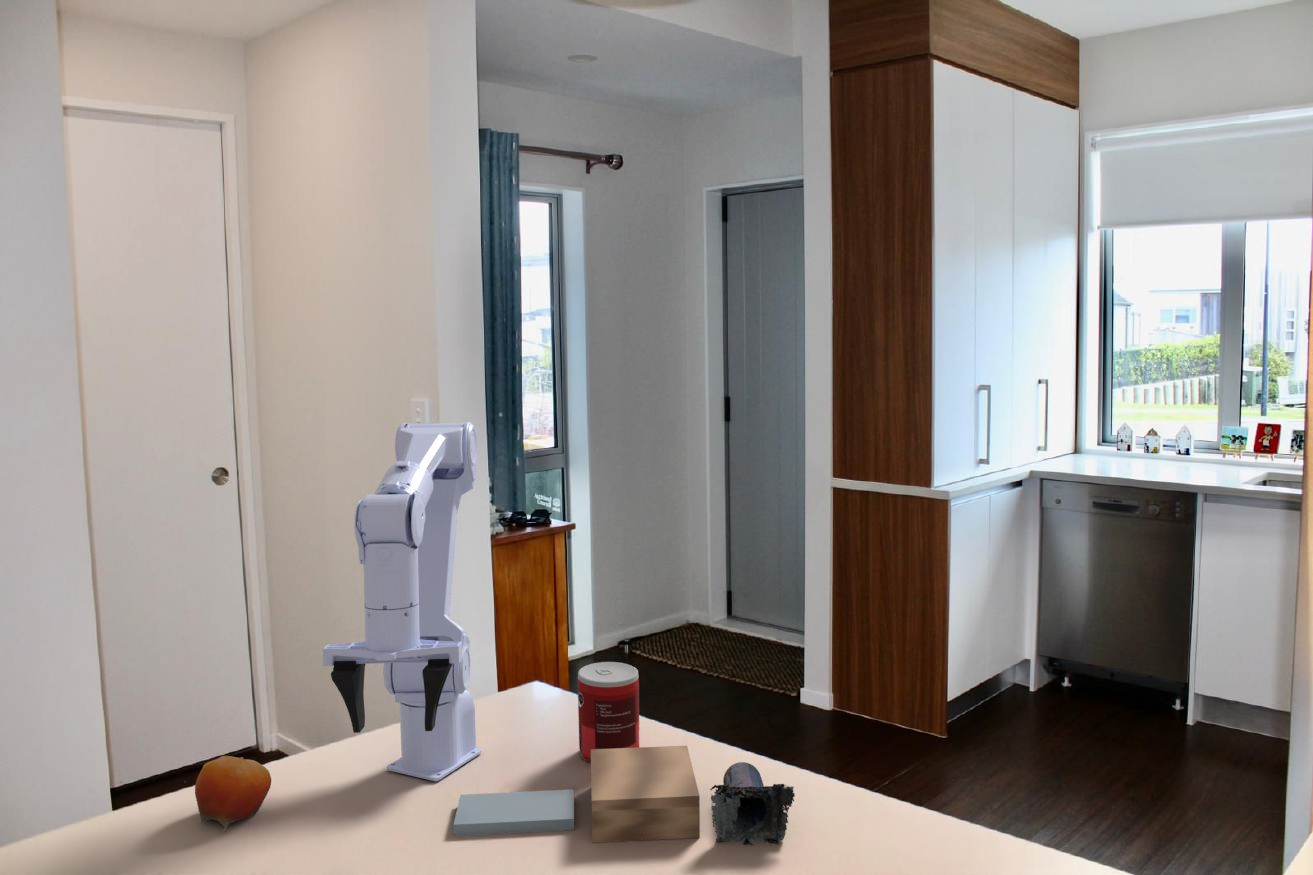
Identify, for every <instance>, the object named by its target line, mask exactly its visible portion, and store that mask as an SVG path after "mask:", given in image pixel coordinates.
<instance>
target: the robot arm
mask: <svg viewBox="0 0 1313 875" xmlns="http://www.w3.org/2000/svg"><path fill="white" fill-rule="evenodd" d="M394 452H395V453H394V454H395V458H396V459H395V460H396V462H395V463H394V464H393V465H391V466H390V467H389V468H388V469H387V470H386V473H385V474H384V476H383V477H382V479H381V481H380V483H379V484H378V486H377V488H376V489H375V492H374V493H373V494H367V495H366V496H365V498H364V499H359V500H358V502H357V503H356V508H355V514H354V534H355V536H354V537H355V539H356V544H357V547H358V548H357V549H358V560H359V563H360V564H361V565H363V593H364V594H363V596H364V597H363V599H364V600H363V601H364V631H365V632H364V633H365V634H364V637H365V638H364V640H365V641H357V642H345V643H328V644H326V646H324V647H323V648H322V665H323V667H332V671H331V672H330V677H331V681H332V682H333V684H334V685H335V686H336V688H337V690H338V692H339V693H340V696H341V697H342V699H343V702H344V704H345V706H346V709H347V712H348V716H349V719H350V722H351V726H352V732H353V733H354V734H355V733H357V734H358V733H359V734H360V733H362V730H364V727H365V726H366V725H365V723H366V713H365V712H366V711H365V700H364V699H365V698H364V697H365V695H364V693H365V692H364V689H365V672H366V664H369V665H371V664H383V684H384V687H385V689H386V691H387V692H388V693H389V694H390V695H392V696H394V700H395V701H394V702H395V703H398V704H399V719H400V721H399V725H400V746H401V748H400V749H401V757H399V758H398V759H396V760H394V761H393V762H391V763H390V764H388V765H387V766H386V770H387V771H390V772H395V773H398V774H402V775H406V776H407V775H408V776H410V777H411V776H412V777H415V778H420V779H425V780H429V781H432V782H438V781H440V780H442V779H443V778H445V777H446V776H448V775H449V774H451V773H452V772H455V771H456V770H457V769H458V768H460V767H461V766H463V765H465V764H467V763H468V762H469V761H472V760H473V759H474V758H476V757H477V756H478V755H480V754H482V752H483V749H482V748H480V747H477V738H476V737H477V735H476V733H477V732H476V730H477V728H476V706H475V705H476V704H475V701H474V699H473V697H472V694H471V692H470V691H469V690H468V688H469V683H470V676H471V654H470V647H471V645H470V644H471V643H470V642H471V641H470V637H469V636H468V633H467V631H466V629H464V628H463V627H462V626H461V625H459V624H458V623H457V622H455V621H454V620H452V619H451V618H450V613H451V601H452V588H453V586H452V585H453V575H454V561H455V560H454V558H455V548H456V547H455V546H456V532H457V522H458V521H457V520H458V519H457V518H458V512H459V508H460V504H461V499H462V496H464V495H465V494H467V493H468V492H469V491H471V490H473V489H474V485H475V484H474V482H475V480H476V477H477V476H476V474H477V460H478V436H477V430H476V427H475V426H474V425H473V423H472V422H471V421H465V422H443V423H441V422H438V423H437V422H436V423H424V422H423V423H422V422H421V423H409V422H405V421H404V422H402V423H401V424H400V425H399V426H398V428H397V429H396V433H395V439H394Z"/></svg>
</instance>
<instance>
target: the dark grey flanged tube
mask: <svg viewBox="0 0 1313 875" xmlns="http://www.w3.org/2000/svg"><path fill="white" fill-rule="evenodd" d="M722 782H723V784H717V785H716V784H714V785H713V786H712V787H711V788H710V789H709V791H713V790H714V789H715V790H714V795H713V794H712V793H711V795H710V801H711V811H712V813H711V819H712V827H713V828H715V831H714V832H715V833H716V839H715V840H716V842H717V841H719V842H723V843H725V841H727V842H731V841H735V842H743V845H752V846H754V845H753V844H754V843H752V842H755V841H756V842H758V843H759V844H760V842H759V841H764V843H769V844H770V843H771V842H774V843H776V844H777V845H780V843H781V842H782V841H784V839H785V836H786V832H787V828H788V827H787V824H789V820H788V818H789V814H788V813H789V809H790V808H791V807H793V805H792V804H793V802H795V800H794V797H796V793H795V792H794V789H795V788H794V787H795V786H792V785H787V784H784V783H777V784H776V783H773V785H764V783H763V778H762V776H761V773H760V771H759V770H758V769H757V767H755V766H754V765H753V764H752V763H749V762H745V761H740V762H735V763H734V764H731V765H730V766H729V767H728V768H727V769H726V771H725V772H724V775H723V781H722ZM741 798H744V799H745V798H749V799H745V800H743V801H744V802H748V803H747V805H746V807H743V806H741ZM713 804H714V805H713ZM751 841H752V842H751Z"/></svg>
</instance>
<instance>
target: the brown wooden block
mask: <svg viewBox="0 0 1313 875" xmlns="http://www.w3.org/2000/svg"><path fill="white" fill-rule="evenodd" d="M695 776H696V775H695V772H694V768H693V765H692V759H691V755H690V753H689V748H688V745H670V746H668V745H667V746H646V747H645V746H643V747H640V746H639V748H614V749H591V763H590V782H591V785H590V786H591V828H592V829H591V833H592V834H591V836H592V837H591V838H592V841H591V842H592V843H593V844H594V843H614V842H615V843H616V842H635V841H636V842H638V841H655V840H656V841H657V840H658V841H659V840H676V839H677V840H678V839H698V838H700V837H701V827H700V826H701V825H700V824H701V823H700V820H701V819H700V818H701V816H700V814H701V812H700V811H701V809H700V806H701V805H700V804H701V803H700V792H699V788H698V784H697V780H696V777H695Z"/></svg>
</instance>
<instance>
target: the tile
mask: <svg viewBox="0 0 1313 875" xmlns="http://www.w3.org/2000/svg"><path fill="white" fill-rule="evenodd" d="M554 831H555V832H556V831H557V832H558V831H560V832H561V831H575V789H574V788H573V789H572V788H571V789H555V790H533V791H531V790H530V791H514V792H513V791H512V792H511V791H510V792H508V791H507V792H490V793H469V794H460V797H459V800H458V805H457V808H456V813H455V817H454V821H453V836H454V837H460V836H461V837H463V836H479V835H482V836H483V835H496V834H497V835H498V834H517V833H537V832H538V833H539V832H554Z"/></svg>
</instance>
